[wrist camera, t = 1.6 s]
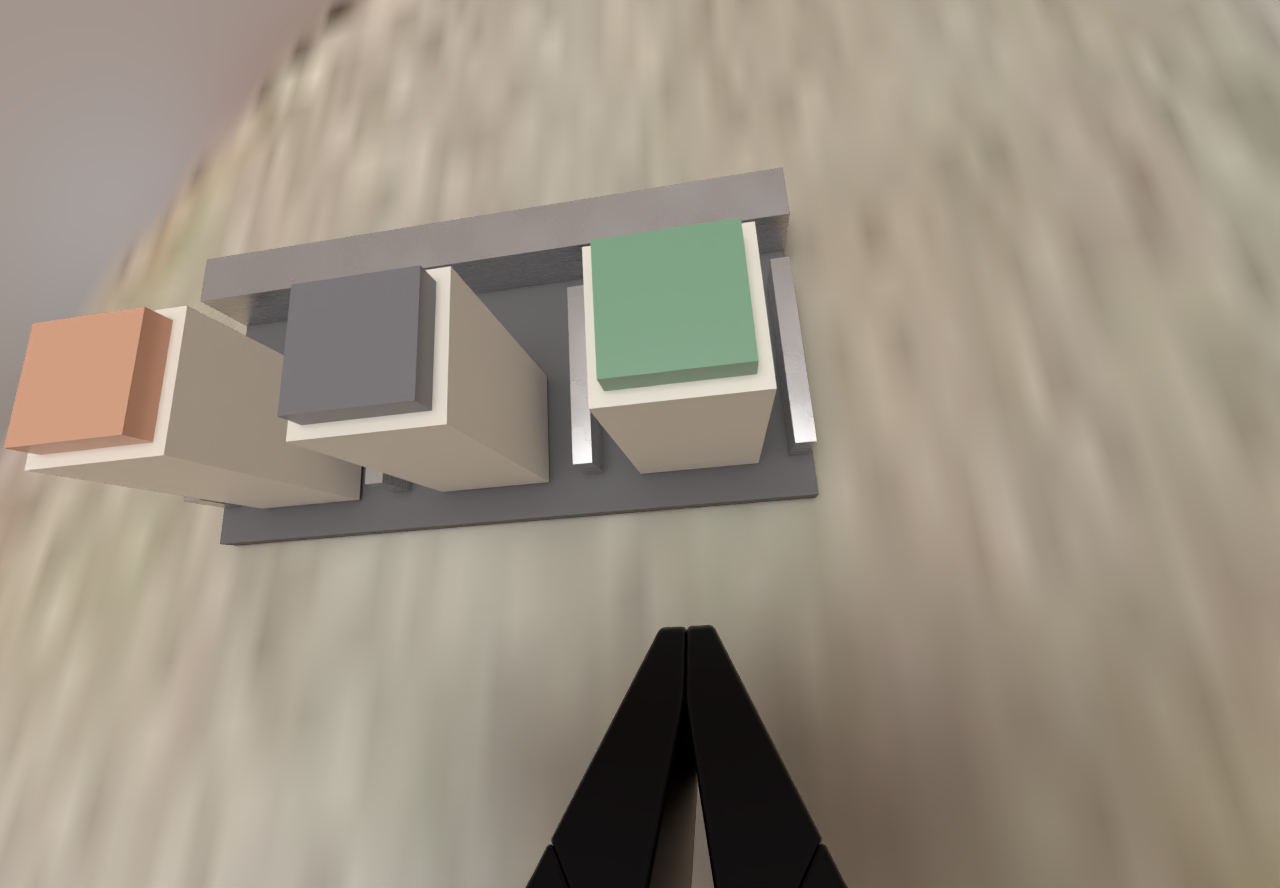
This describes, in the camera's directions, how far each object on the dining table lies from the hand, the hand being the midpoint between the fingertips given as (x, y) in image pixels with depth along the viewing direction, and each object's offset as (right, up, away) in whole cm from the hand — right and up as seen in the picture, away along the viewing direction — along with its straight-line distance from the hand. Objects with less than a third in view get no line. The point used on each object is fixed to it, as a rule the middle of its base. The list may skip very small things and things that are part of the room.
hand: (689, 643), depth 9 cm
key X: (-6, +3, +15) cm, 16 cm away
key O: (-14, +3, +16) cm, 21 cm away
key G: (+1, +4, +14) cm, 14 cm away
